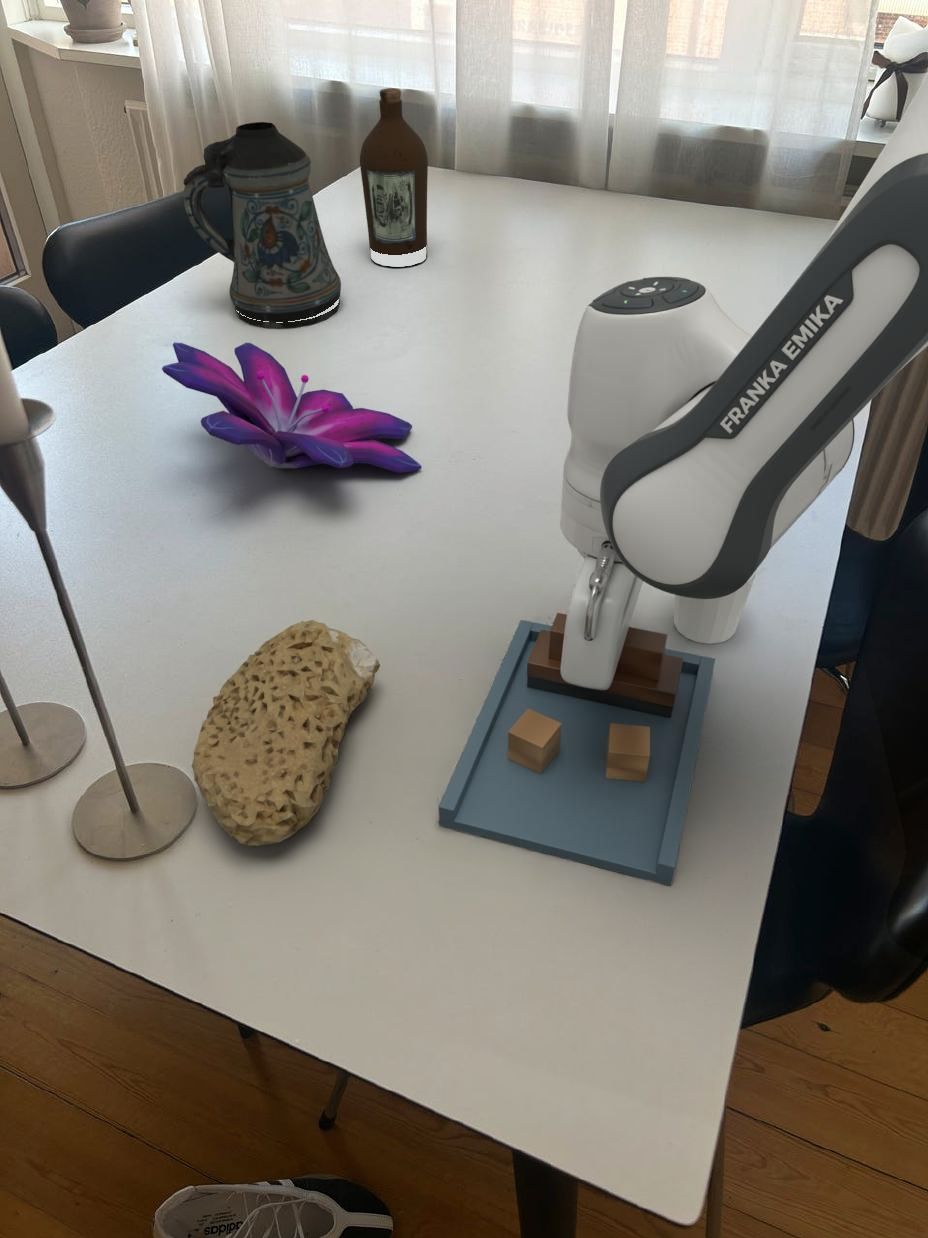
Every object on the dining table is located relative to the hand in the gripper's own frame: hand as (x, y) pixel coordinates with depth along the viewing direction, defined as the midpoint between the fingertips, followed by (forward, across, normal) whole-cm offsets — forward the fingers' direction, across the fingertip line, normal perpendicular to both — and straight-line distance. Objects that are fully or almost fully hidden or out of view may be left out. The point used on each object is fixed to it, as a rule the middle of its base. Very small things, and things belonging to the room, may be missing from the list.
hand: (606, 651), depth 78 cm
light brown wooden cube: (+2, -8, -4) cm, 9 cm away
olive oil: (+5, +92, +54) cm, 106 cm away
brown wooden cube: (+2, -9, +4) cm, 10 cm away
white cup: (+5, +12, -7) cm, 15 cm away
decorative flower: (+5, +28, +41) cm, 50 cm away
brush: (+4, 0, 0) cm, 4 cm away
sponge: (+5, -14, +22) cm, 27 cm away
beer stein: (+5, +66, +63) cm, 91 cm away
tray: (+5, -6, 0) cm, 8 cm away
